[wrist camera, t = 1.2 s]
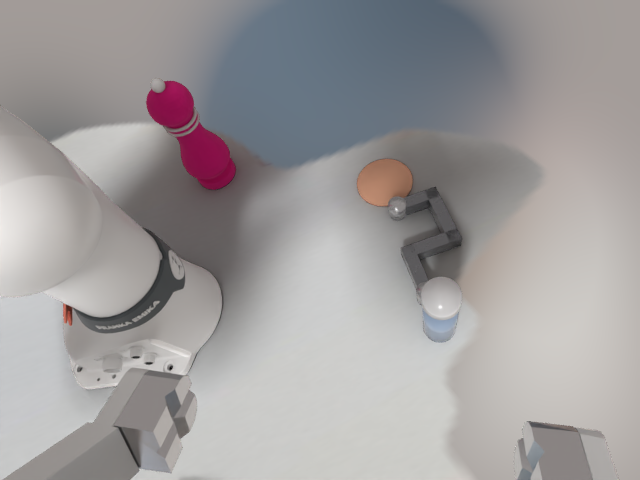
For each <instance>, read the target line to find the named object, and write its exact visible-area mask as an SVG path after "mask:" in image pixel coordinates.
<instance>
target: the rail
mask: <svg viewBox="0 0 640 480" xmlns="http://www.w3.org/2000/svg"><path fill="white" fill-rule="evenodd" d="M428 207H429V209H430V211H431V213H432V215H433V217H434V219H435V221H436V223H437V225H438V227H439V229H440V232H441V234H439V235H436V236H433V237H430V238H427V239H425V240H422V241H419V242H416V243H413V244H410V245H407V246H404V247H402V248H401V255H402V257H403V259H404V262H405V264H406V266H407V269H408V271H409V274H410V276H411V278H412V281H413V283H414V285H415V288H416V290H417V301H418V302H419V304H420V305H422V297H421V293H422V289H423V287H424V285H425V284H426V283H427V282H428V281H429V280H428V278H427V275H426V273H425V271H424V269H423V266H422V264H421V262H420V260H421V259H424V258H426V257H429V256H432V255H435V254H438V253H441V252H444V251H447V250H450V249H452V248H455V247H458V246H461V242H462V238H461V236H460V234H459V232H458V230H457V228H456V226H455V224H454V222H453V220H452V218H451V216H450V214H449V212H448V210H447V208H446V206H445V204H444V202H443V200H442V198H441V196H440V195H439V193H438V191H437V189H436V187H433V188H430V189H427V190H424V191H422V192H419V193H416V194H413V195H410V196H407V197H405V198H402V197H399V196H396V197H393V198H391V199H390V200H389V202H388V208H389V215H390V217H391V218H392V219H394V220H402V219H403V218H405V216H406V215H408V214H411V213H414V212H417V211H420V210H423V209H426V208H428Z"/></svg>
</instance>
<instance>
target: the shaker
mask: <svg viewBox="0 0 640 480" xmlns="http://www.w3.org/2000/svg"><path fill="white" fill-rule="evenodd" d="M421 297H422V307H423V329H424V332H425V334H426V336H427V337H428V338H429V339H431V340H432V341H435V342H446V341H448V340H450V339H451V338H452V337H453V335H454V333H455V329H456V324H457V318H458V313H459V310H460V307H461V302H462V291H461V288H460V287H459V285H458V284H457V283H456V282H455V281H453V280H452V279H450V278H447V277H435V278H432V279H430V280H429V281H428V282H427V283H426V284H425V285H424V287H423V289H422V293H421Z"/></svg>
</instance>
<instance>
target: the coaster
mask: <svg viewBox="0 0 640 480" xmlns="http://www.w3.org/2000/svg"><path fill="white" fill-rule="evenodd" d="M412 184H413V180H412V174H411V172H410V170H409V169H408V167H407V166H406V165H404V164H403V163H401V162H399V161H397V160H393V159H381V160H377V161H374V162H372V163H370V164H368V165H367V166H366V167H365V168H364V169H363V170H362V171H361V172H360V174H359V176H358V179H357V188H358V191H359V194H360V195H361V197H362V198H363V199H364V200H365V201H366V202H368V203H370V204H372V205H376V206H388V202H389V200H390V199H391V198H393V197H396V196H399V197H402V198H405V197H406V196H407V195H408V194H409V192H410V191H411V188H412Z"/></svg>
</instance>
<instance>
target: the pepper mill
mask: <svg viewBox="0 0 640 480" xmlns="http://www.w3.org/2000/svg"><path fill="white" fill-rule="evenodd" d="M150 86H151V91H150V92H149V94H148V96H147V101H146V104H147V109H148V112H149V114H150V116H151V117H152V118H153V119H154V121H156V122H157V123H159V124H160V125H163V127H164V128H165V129H166V131H167V132H168V133H169V134H170V135H172V136H175V137H176V138H177V140H178V141H179V144H180V149H181V158H182V162H183V165H184V167H185V168H186V170H187V172H188V173H189V174H190V175H192V176H193V177H195V178H197V180H198V181H199V182H200V184H201V185H202V186H203V187H205V188H207V189H211V190H215V189H220V188H222V187H224V186H226V185H227V184H229V182H230V181H231V180H232V179H233V177H234V175H235V171H236V168H235V164H234V163H233V161H232V159H231V158H230V152H229V149H228V147H227V145H226V144H225V142H224V141H223V140H222V139H221V138H219V137H218V136H217V135H215V134H213V133H212V132H210V131H208V130H206V129H205V128H203V127H202V125H201V124H200V122H199V120H200V117H199V113H198V112H197V111H196V108H195V107H194V101H193V98H192V95H191V93H190V92H189V91H188V89H187V88H186V87H185V86H183V85H182V84H180V83H178V82H175V81H163V80H162V79H160V78H155V79H153V80H152V81H151V83H150Z"/></svg>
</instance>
